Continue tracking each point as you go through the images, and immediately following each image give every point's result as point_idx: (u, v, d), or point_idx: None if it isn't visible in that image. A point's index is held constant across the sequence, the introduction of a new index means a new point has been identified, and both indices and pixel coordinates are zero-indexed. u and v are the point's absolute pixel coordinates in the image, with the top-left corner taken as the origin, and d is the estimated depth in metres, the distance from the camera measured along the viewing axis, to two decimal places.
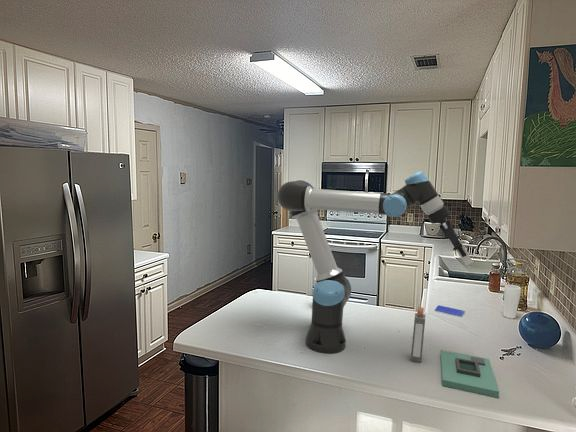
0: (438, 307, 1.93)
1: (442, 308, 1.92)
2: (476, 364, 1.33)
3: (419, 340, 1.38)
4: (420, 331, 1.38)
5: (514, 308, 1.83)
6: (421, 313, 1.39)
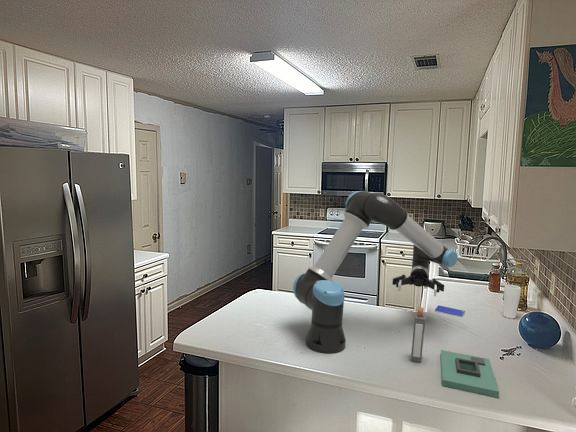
0: (438, 307, 1.93)
1: (442, 308, 1.92)
2: (476, 364, 1.33)
3: (419, 340, 1.38)
4: (420, 331, 1.38)
5: (514, 308, 1.83)
6: (421, 313, 1.39)
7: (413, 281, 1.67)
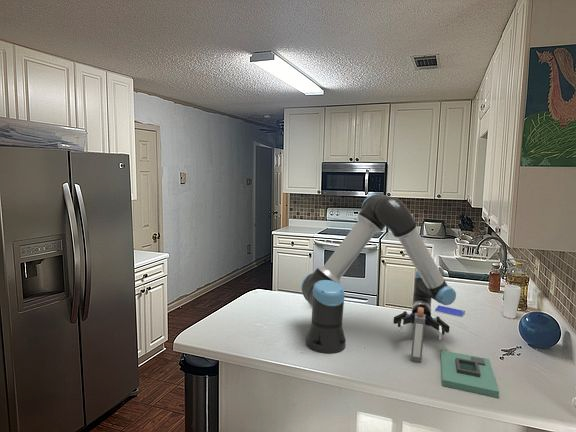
0: (438, 307, 1.93)
1: (442, 308, 1.92)
2: (476, 364, 1.33)
3: (419, 340, 1.38)
4: (420, 331, 1.38)
5: (514, 308, 1.83)
6: (421, 313, 1.39)
7: None
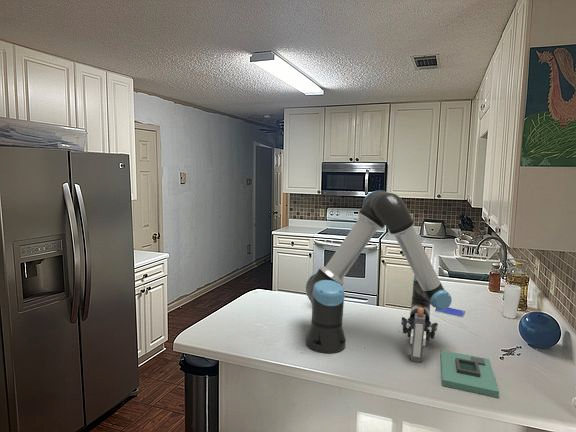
0: None
1: None
2: (476, 364, 1.33)
3: (419, 340, 1.38)
4: (420, 331, 1.38)
5: (514, 308, 1.83)
6: (421, 313, 1.39)
7: None
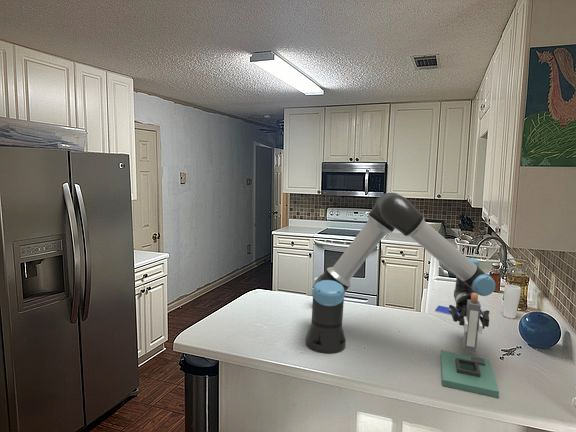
0: (438, 307, 1.93)
1: (442, 308, 1.91)
2: (476, 364, 1.33)
3: (474, 328, 1.28)
4: (475, 318, 1.27)
5: (514, 308, 1.83)
6: (476, 299, 1.28)
7: None
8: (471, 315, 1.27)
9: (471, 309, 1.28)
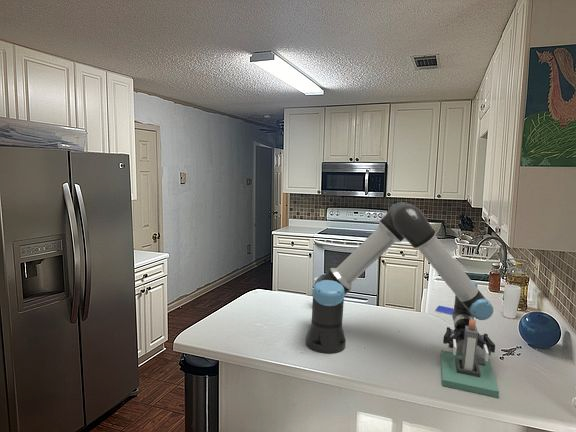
0: (439, 307, 1.92)
1: (443, 308, 1.91)
2: (476, 364, 1.33)
3: (471, 355, 1.29)
4: (473, 345, 1.28)
5: (514, 308, 1.83)
6: (473, 326, 1.29)
7: (461, 336, 1.40)
8: (469, 342, 1.28)
9: (469, 336, 1.28)
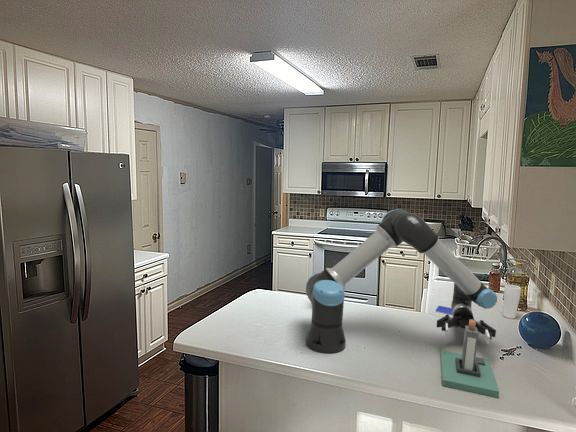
0: (439, 307, 1.92)
1: (443, 308, 1.91)
2: (476, 364, 1.33)
3: (471, 355, 1.29)
4: (473, 345, 1.28)
5: (514, 308, 1.83)
6: (473, 326, 1.29)
7: (459, 323, 1.52)
8: (469, 342, 1.28)
9: (469, 336, 1.28)
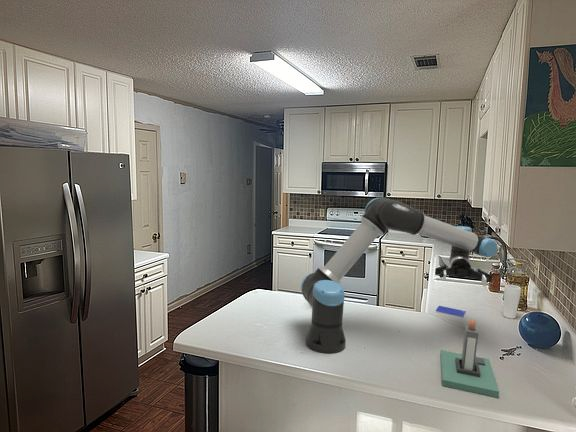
0: (439, 308, 1.92)
1: (443, 309, 1.91)
2: (476, 364, 1.33)
3: (471, 355, 1.29)
4: (473, 345, 1.28)
5: (514, 308, 1.83)
6: (473, 326, 1.29)
7: (456, 271, 1.57)
8: (469, 342, 1.28)
9: (469, 336, 1.28)
